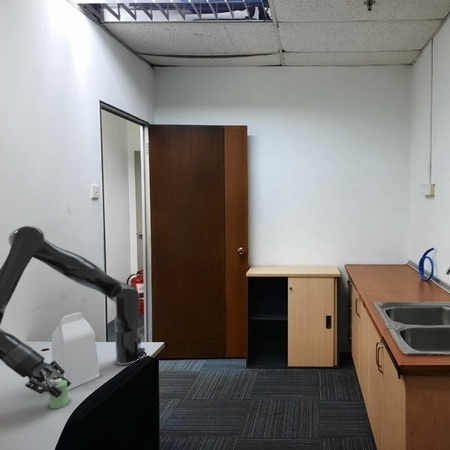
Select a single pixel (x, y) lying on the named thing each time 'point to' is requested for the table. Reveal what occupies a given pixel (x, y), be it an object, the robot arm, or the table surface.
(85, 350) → the milk
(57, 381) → the soap bottle
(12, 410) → the table surface
